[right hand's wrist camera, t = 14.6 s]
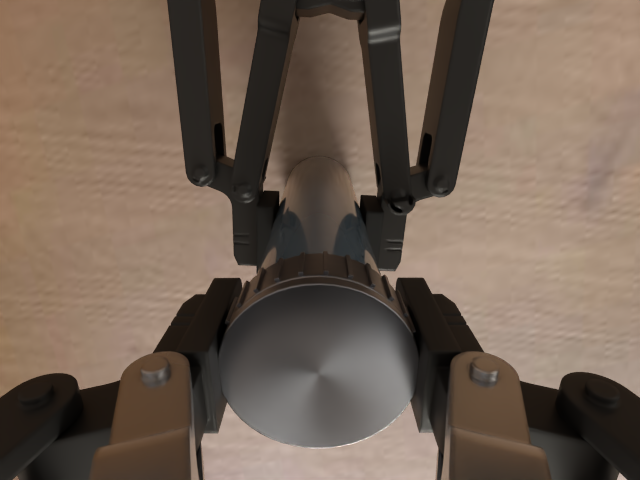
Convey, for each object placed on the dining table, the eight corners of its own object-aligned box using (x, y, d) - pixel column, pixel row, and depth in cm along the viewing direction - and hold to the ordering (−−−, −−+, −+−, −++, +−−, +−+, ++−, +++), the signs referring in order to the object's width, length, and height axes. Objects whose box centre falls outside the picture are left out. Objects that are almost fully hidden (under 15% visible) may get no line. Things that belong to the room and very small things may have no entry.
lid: (438, 360, 11) (457, 404, 10) (288, 425, 12) (283, 476, 10) (357, 215, 10) (364, 241, 8) (192, 302, 10) (170, 340, 9)
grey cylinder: (362, 201, 25) (429, 389, 10) (306, 229, 26) (286, 446, 11) (333, 144, 24) (358, 257, 9) (274, 175, 25) (200, 331, 9)
